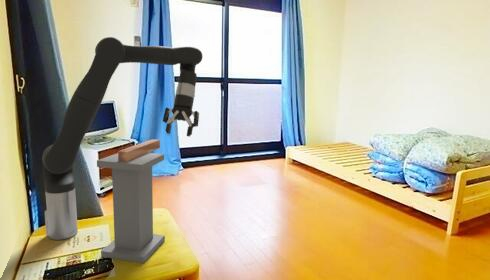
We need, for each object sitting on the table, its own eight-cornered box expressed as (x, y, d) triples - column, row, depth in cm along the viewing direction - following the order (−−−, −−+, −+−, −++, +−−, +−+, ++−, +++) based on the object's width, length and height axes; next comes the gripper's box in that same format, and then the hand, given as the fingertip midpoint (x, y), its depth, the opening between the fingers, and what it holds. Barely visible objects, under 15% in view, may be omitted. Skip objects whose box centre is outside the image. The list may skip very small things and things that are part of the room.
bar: (118, 160, 98) (118, 151, 97) (152, 147, 119) (152, 139, 118) (127, 161, 97) (126, 152, 96) (159, 147, 118) (159, 139, 118)
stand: (101, 256, 102) (96, 160, 97) (126, 235, 117) (124, 150, 111) (143, 263, 100) (141, 164, 94) (164, 240, 114) (164, 154, 108)
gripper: (164, 91, 127) (157, 131, 125) (198, 95, 124) (192, 135, 123) (171, 96, 134) (165, 134, 132) (204, 100, 132) (197, 138, 130)
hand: (178, 135), depth 128 cm, fingers open, 8 cm apart
